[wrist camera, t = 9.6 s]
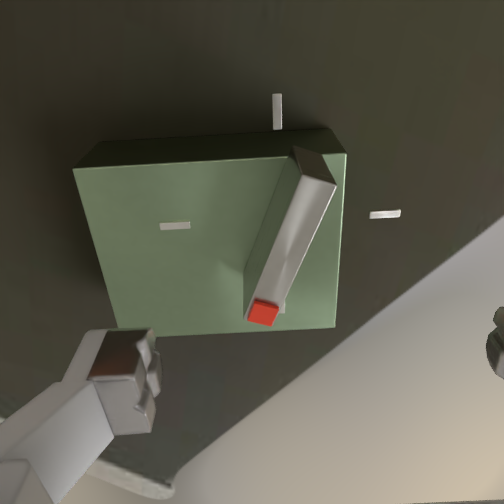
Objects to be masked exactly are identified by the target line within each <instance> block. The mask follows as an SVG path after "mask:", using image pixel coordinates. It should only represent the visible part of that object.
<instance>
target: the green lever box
mask: <svg viewBox="0 0 504 504" xmlns="http://www.w3.org/2000/svg"><path fill="white" fill-rule="evenodd" d="M272 105H273V130H278V129H282V97H281V93H275V94H272ZM292 146H297V147H300V148H304V149H307V150H310V151H313V152H316V153H319V154H322V156H323V158H324V160H325V162H326V164H327V166H328V168H329V170H330V172H331V174H332V176H333V178H334V180H335V182H336V184H337V188H336V190H335V192H334V194H333V197H332V199H331V201H330V203H329V205H328V207H327V210H326V212H325V214H324V216H323V218H322V221H321V223H320V225H319V227H318V229H317V231H316V234H315V236H314V238H313V240H312V242H311V244H310V247H309V249H308V251H307V253H306V255H305V257H304V260H303V262H302V264H301V266H300V268H299V270H298V273H297V275H296V277H295V279H294V281H293V283H292V286H291V288H290V290H289V292H288V294H287V296H286V299H285V301H284V303H283V305H282V307H281V309H280V312H279V314H278V316H277V318H276V320H275V322H274V325H273V326H271V327H270V326H266V325H262V324H258V323H254V322H250V321H247V320H244V319H243V273H244V271H245V268H246V266H247V263H248V260H249V258H250V255H251V252H252V250H253V247H254V245H255V242H256V239H257V237H258V234H259V231H260V229H261V226H262V224H263V221H264V218H265V216H266V213H267V210H268V208H269V205H270V203H271V200H272V197H273V195H274V192H275V190H276V187H277V184H278V182H279V179H280V176H281V174H282V171H283V169H284V166H285V163H286V161H287V158H288V155H289V153H290V150H291V148H292ZM346 163H347V153H346V151H345V149H344V148H343V146H342V145H341V143H340V142H339V140H338V139H337V137H336V136H335V134H334V133H333V131H332V130H331V129H313V130H295V131H278V132H261V133H244V134H227V135H210V136H192V137H175V138H158V139H141V140H124V141H107V142H99V143H98V144H97V145H96V146H95V147H94V148H93V149H92V150H91V151H90V152H89V153H88V154H87V155H86V156H85V157H83V158H82V159H81V160H80V161H79V162H78V163H77V164H76V165H75V166H74V167H73V169H72V170H73V174H74V177H75V181H76V184H77V188H78V191H79V194H80V198H81V201H82V205H83V208H84V212H85V215H86V218H87V222H88V225H89V229H90V232H91V236H92V239H93V243H94V246H95V249H96V253H97V256H98V260H99V263H100V267H101V270H102V273H103V277H104V280H105V284H106V287H107V291H108V294H109V297H110V301H111V304H112V308H113V311H114V315H115V318H116V321H117V325H118V328H141V327H151V328H152V329H154V333H155V336H156V337H165V336H185V335H204V334H224V333H243V332H263V331H282V330H302V329H321V328H335V326H336V312H337V297H338V282H339V268H340V253H341V238H342V223H343V208H344V193H345V178H346ZM400 212H401V210H400V209H388V210H370V212H369V218H370V219H372V218H391V217H400Z"/></svg>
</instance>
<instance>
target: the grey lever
mask: <svg viewBox="0 0 504 504" xmlns="http://www.w3.org/2000/svg"><path fill="white" fill-rule="evenodd" d="M336 188H337V184H336V182H335V180H334V178H333V176H332V174H331V172H330V170H329V168H328V166H327V164H326V162H325V160H324V158H323V156H322V154H319V153H316V152H313V151H310V150H307V149H304V148H300V147H297V146H292V148H291V150H290V153H289V155H288V158H287V161H286V163H285V166H284V169H283V171H282V174H281V176H280V179H279V182H278V184H277V187H276V190H275V192H274V195H273V197H272V200H271V203H270V205H269V208H268V210H267V213H266V216H265V218H264V221H263V224H262V226H261V229H260V231H259V234H258V237H257V239H256V242H255V245H254V247H253V250H252V252H251V255H250V258H249V260H248V263H247V266H246V268H245V271H244V273H243V319H244V320H247V321H250V322H254V323H258V324H262V325H266V326H270V327H271V326H273V325H274V322H275V320H276V318H277V316H278V314H279V312H280V309H281V307H282V305H283V303H284V301H285V299H286V296H287V294H288V292H289V290H290V288H291V286H292V283H293V281H294V279H295V277H296V275H297V273H298V270H299V268H300V266H301V264H302V262H303V260H304V257H305V255H306V253H307V251H308V249H309V247H310V244H311V242H312V240H313V238H314V236H315V234H316V231H317V229H318V227H319V225H320V223H321V221H322V218H323V216H324V214H325V212H326V210H327V207H328V205H329V203H330V201H331V199H332V197H333V194H334V192H335V190H336Z"/></svg>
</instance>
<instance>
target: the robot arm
mask: <svg viewBox="0 0 504 504" xmlns="http://www.w3.org/2000/svg"><path fill="white" fill-rule="evenodd" d="M493 321H494V323H495V324H496V326H497V328H496V329H495V330H493V331H492V332H491V333H490V334H489V335H488V339H487V343H486V351H487V358H488V361H489V363H490V366H491V367H492V369H493V371H494V372H495V374H496V375H498V376H499V377H501V378H503V379H504V307H499V309H498V310H497V311H496V312H495V315H494V318H493ZM156 340H157V339H156V336H155V333H154V329H152V328H151V327H141V328H113V329H95V330H89V331H88V332H86V333H85V335H84V337H83V339H82V341H81V343H80V345H79V347H78V349H77V351H76V353H75V355H74V357H73V359H72V361H71V363H70V365H69V367H68V369H67V371H66V373H65V375H64V377H63V379H62V381H61V382H55V383H53V384H52V385H51V386H49V387H48V388H47V389H45V390H44V391H43V392H42V393H40V394H39V395H38V396H36V397H35V398H34V399H32V400H31V401H30V402H28V403H27V404H26V405H24V406H23V407H22V408H20V409H19V410H18V411H17V412H15V413H14V414H13V415H11V416H10V417H9V418H7V419H6V420H5V421H3V422H2V423H1V424H0V504H58V503H59V502H60V501H61V500H62V499H63V497H64V496H65V495H66V494H67V493H68V491H69V490H70V489H71V488H72V487H73V486H74V484H75V483H76V482H77V481H78V480H79V478H80V477H81V476H82V475H83V474H84V473H85V471H86V470H87V469H88V468H89V467H90V466H91V464H92V463H93V462H94V461H95V460H96V458H97V457H98V456H99V455H100V454H101V453H102V451H103V450H104V449H105V448H106V447H107V445H108V444H109V443H110V442H111V441H112V440H113V438H114V436H113V435H125V434H138V433H151V429H152V425H153V421H154V416H155V412H156V404H155V401H154V397H156V396H157V395H158V394H159V393H160V390H161V385H162V376H163V367H162V359H161V355H160V353H159V352H158V351H157V350H156V349H154V347H155V343H156ZM414 504H504V500H483V501H459V502H438V503H437V502H436V503H414Z"/></svg>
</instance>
